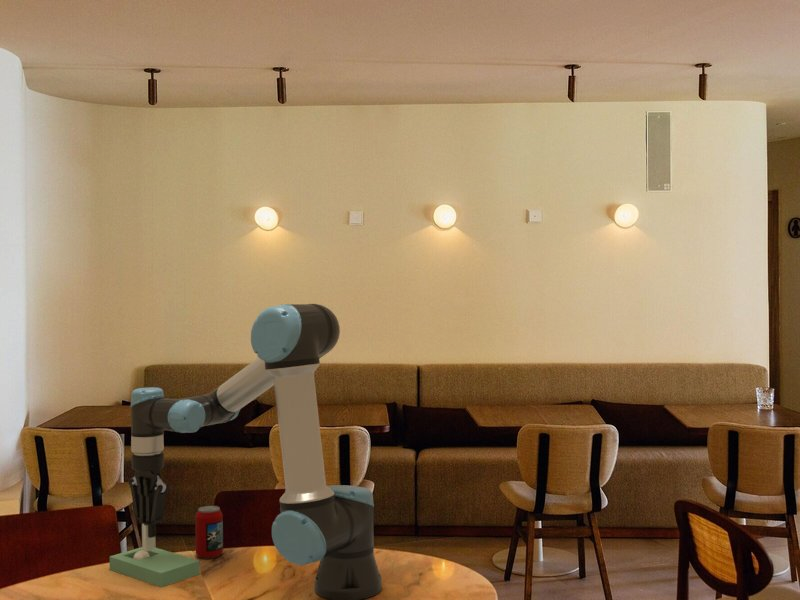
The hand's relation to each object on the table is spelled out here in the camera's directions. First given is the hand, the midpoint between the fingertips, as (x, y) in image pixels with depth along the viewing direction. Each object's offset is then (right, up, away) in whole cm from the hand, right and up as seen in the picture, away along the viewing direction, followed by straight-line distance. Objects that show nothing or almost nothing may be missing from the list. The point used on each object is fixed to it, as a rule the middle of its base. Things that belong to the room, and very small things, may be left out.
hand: (148, 549), depth 205 cm
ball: (-2, -3, +2) cm, 4 cm away
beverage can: (+12, -5, +11) cm, 17 cm away
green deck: (+2, -5, -1) cm, 5 cm away
